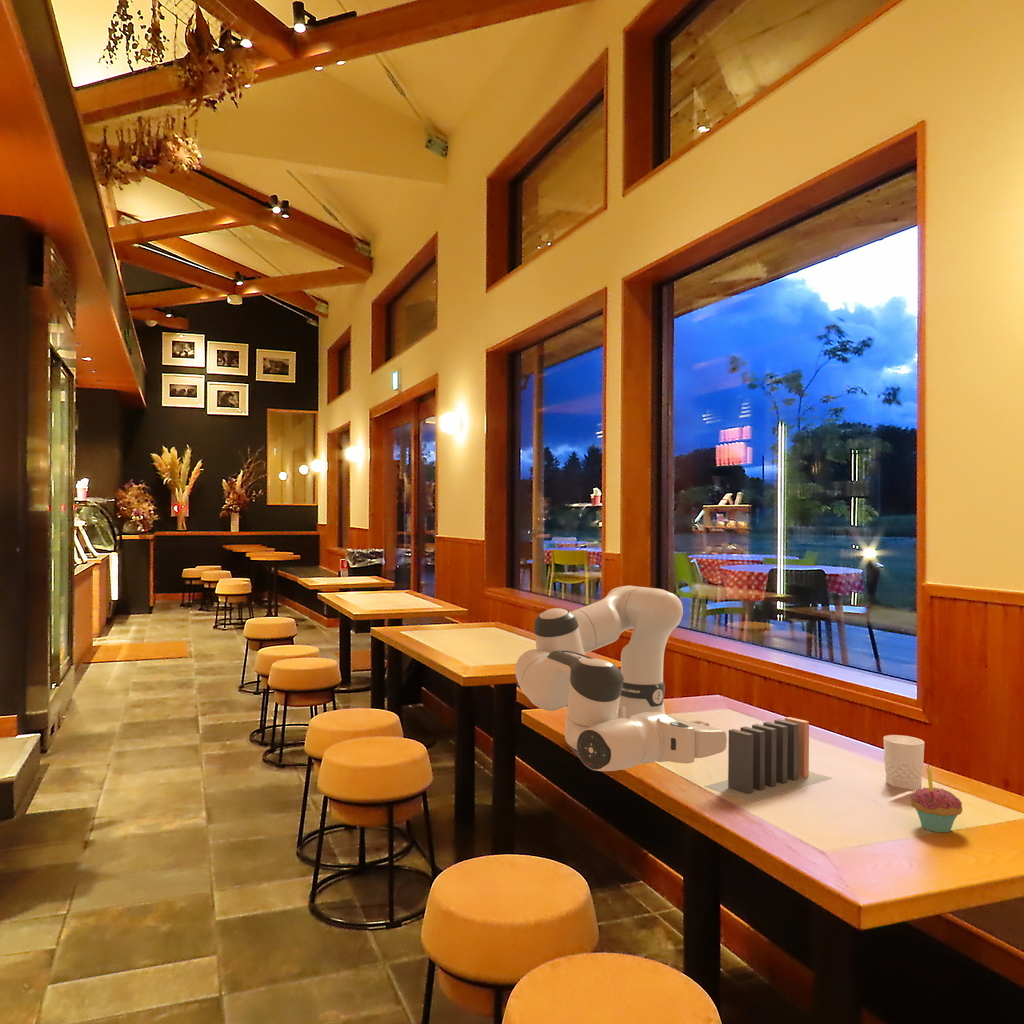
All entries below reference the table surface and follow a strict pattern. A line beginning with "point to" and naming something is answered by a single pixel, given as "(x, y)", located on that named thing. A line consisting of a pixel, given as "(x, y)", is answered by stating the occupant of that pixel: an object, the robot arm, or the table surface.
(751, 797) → the felt strip
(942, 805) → the cupcake
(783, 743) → the domino
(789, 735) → the domino
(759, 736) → the domino
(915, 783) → the white cup
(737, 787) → the domino
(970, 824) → the table surface
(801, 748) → the domino
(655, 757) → the robot arm
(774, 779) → the domino
